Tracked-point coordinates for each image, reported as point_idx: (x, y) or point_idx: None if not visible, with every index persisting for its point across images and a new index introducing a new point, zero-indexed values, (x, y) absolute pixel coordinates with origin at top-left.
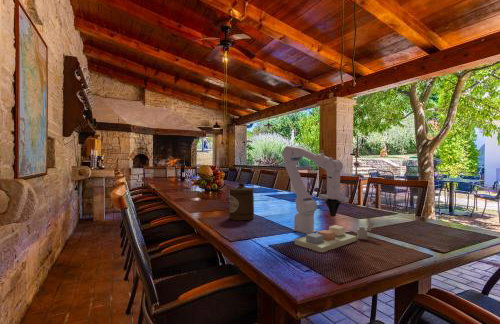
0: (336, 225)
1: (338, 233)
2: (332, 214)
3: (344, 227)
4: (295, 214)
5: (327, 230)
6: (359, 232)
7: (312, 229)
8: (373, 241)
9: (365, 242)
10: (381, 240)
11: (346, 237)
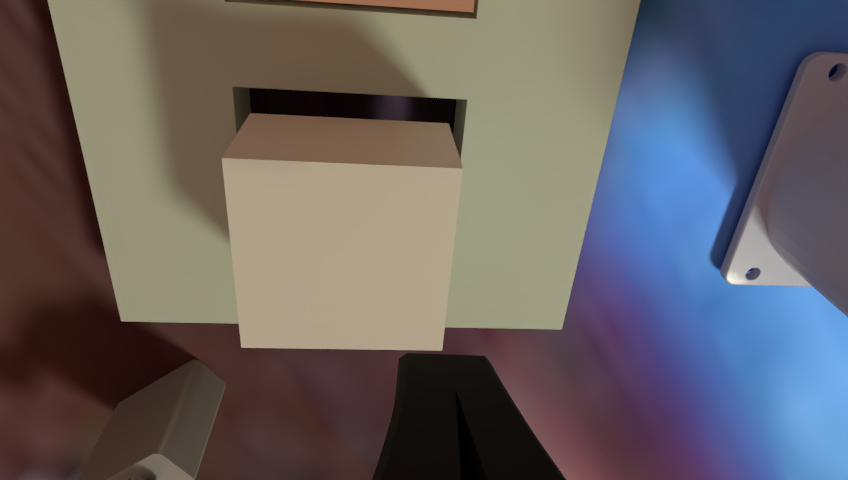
0: (409, 339)
1: (243, 125)
2: (415, 388)
3: (241, 333)
4: None
5: (402, 3)
6: (152, 429)
7: (793, 200)
8: (22, 392)
9: (35, 303)
10: (10, 468)
11: (152, 168)
